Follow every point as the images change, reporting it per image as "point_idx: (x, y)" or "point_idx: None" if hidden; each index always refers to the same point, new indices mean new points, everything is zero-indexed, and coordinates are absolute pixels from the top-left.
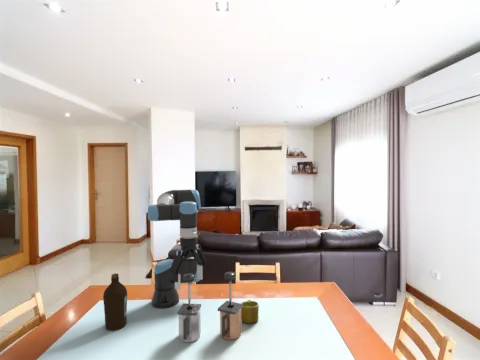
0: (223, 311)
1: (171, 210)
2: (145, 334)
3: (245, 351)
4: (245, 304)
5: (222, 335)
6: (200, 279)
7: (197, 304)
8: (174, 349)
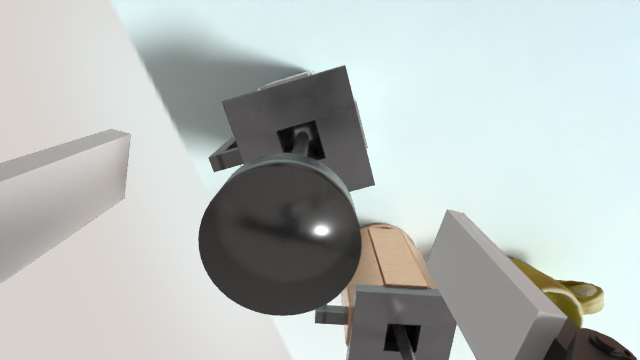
0: (351, 316)
1: None
2: None
3: (301, 333)
4: (558, 293)
5: None
6: (430, 254)
7: (363, 165)
8: (205, 107)
